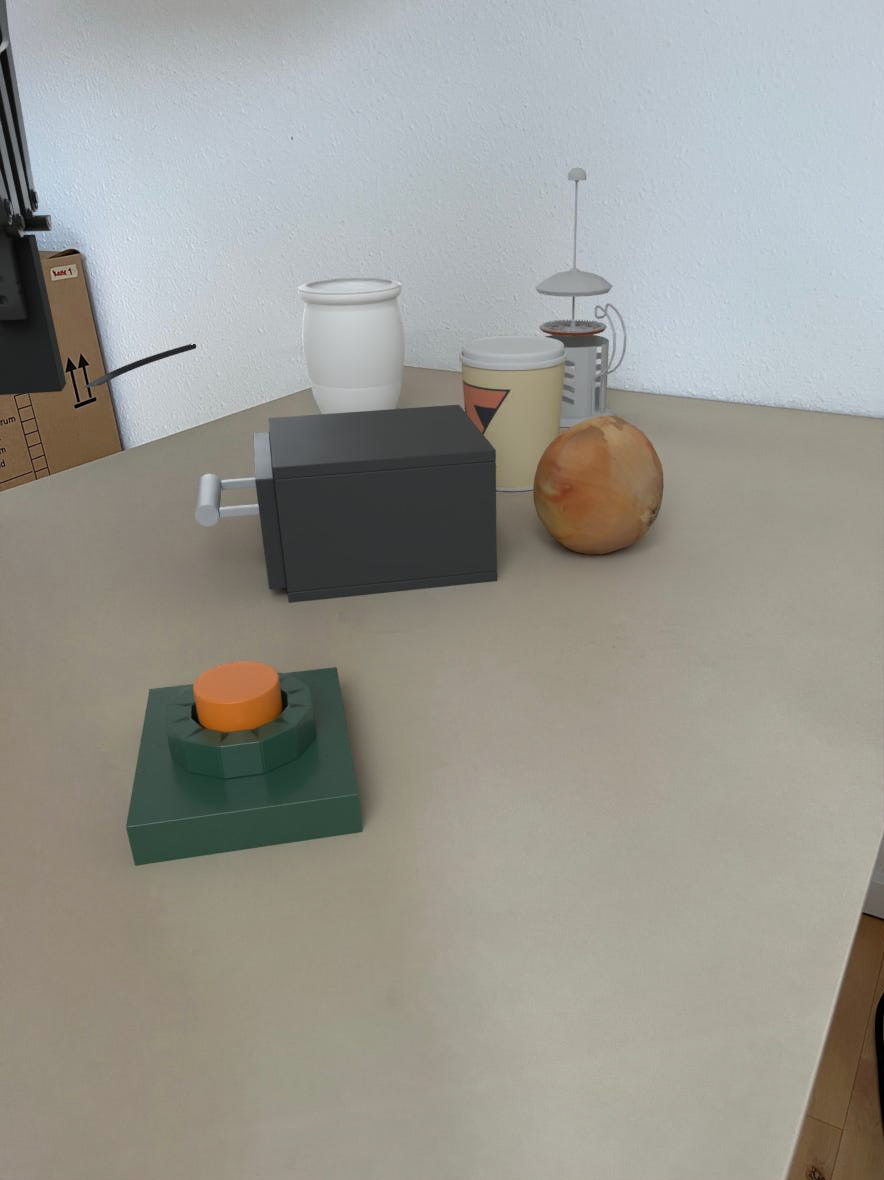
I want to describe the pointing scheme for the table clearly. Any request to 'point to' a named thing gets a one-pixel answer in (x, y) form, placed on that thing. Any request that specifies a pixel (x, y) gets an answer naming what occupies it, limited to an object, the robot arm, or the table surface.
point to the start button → (237, 696)
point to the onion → (598, 485)
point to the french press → (581, 338)
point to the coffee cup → (514, 400)
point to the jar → (353, 343)
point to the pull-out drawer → (249, 506)
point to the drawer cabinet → (384, 501)
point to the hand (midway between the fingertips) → (32, 388)
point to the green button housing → (243, 775)
